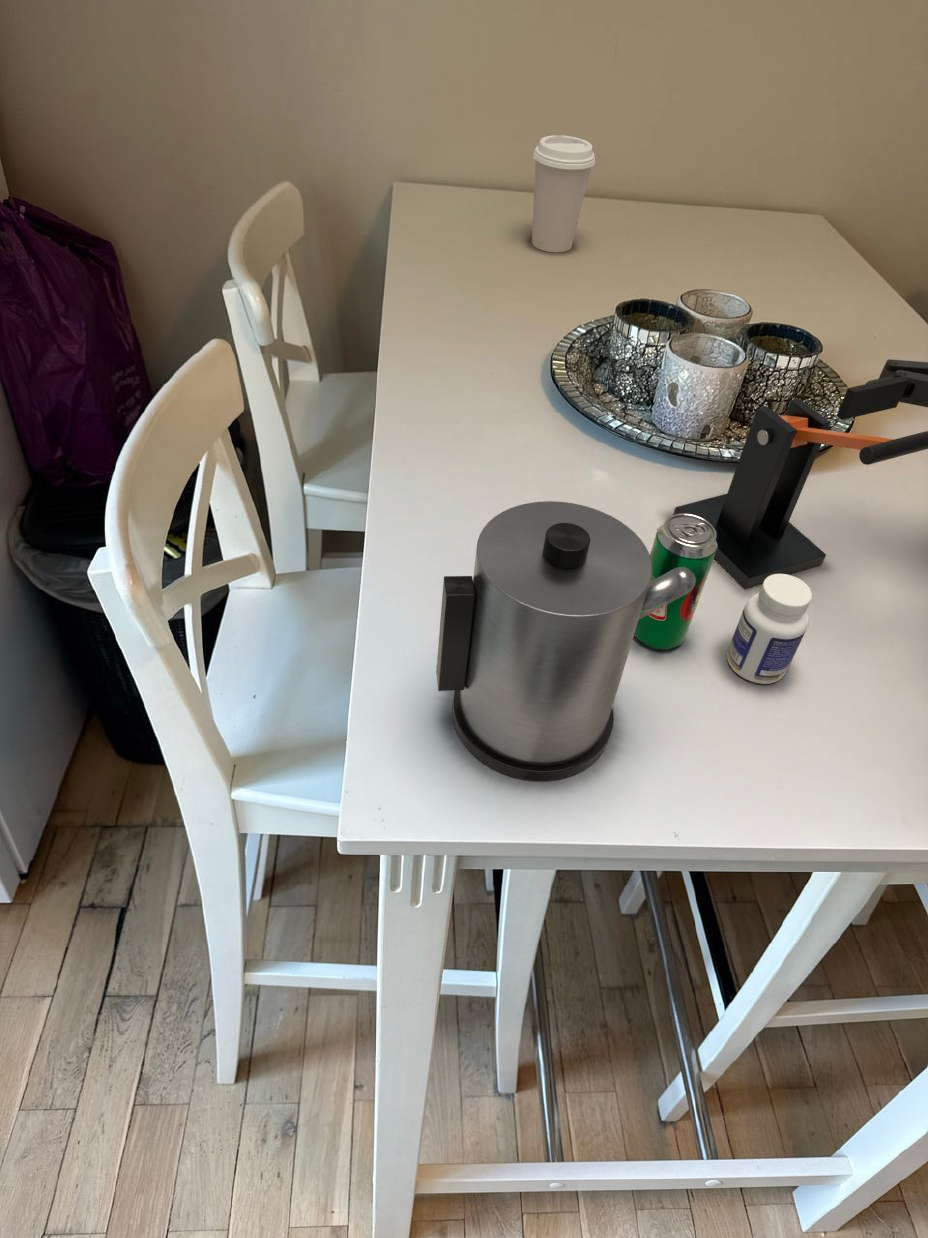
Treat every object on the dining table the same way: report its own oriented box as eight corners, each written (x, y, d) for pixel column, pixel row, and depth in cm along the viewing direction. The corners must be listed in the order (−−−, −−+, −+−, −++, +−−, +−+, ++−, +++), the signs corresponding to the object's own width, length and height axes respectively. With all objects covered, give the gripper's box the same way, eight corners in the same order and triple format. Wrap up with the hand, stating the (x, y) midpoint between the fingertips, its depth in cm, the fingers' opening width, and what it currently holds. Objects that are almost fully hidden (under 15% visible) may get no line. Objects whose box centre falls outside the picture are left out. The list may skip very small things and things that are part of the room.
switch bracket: (821, 564, 89) (881, 439, 78) (744, 588, 85) (796, 460, 75) (746, 496, 96) (791, 374, 86) (672, 516, 93) (710, 391, 82)
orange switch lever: (934, 455, 72) (937, 425, 71) (872, 472, 70) (874, 442, 69) (804, 435, 84) (804, 410, 84) (747, 449, 82) (747, 423, 81)
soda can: (619, 618, 81) (648, 514, 72) (668, 609, 82) (702, 506, 74) (643, 657, 77) (677, 553, 69) (694, 647, 79) (733, 544, 70)
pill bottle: (793, 658, 79) (829, 585, 73) (775, 694, 75) (811, 621, 69) (736, 633, 81) (767, 559, 74) (716, 667, 77) (747, 593, 71)
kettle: (630, 654, 78) (683, 478, 65) (669, 775, 68) (741, 600, 55) (428, 659, 75) (440, 478, 62) (441, 786, 66) (459, 605, 53)
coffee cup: (582, 237, 146) (599, 138, 135) (579, 259, 139) (596, 157, 128) (525, 229, 146) (537, 130, 136) (519, 251, 139) (531, 149, 129)
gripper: (1175, 516, 74) (1005, 576, 67) (946, 373, 90) (787, 409, 82) (1237, 439, 69) (1059, 495, 61) (982, 302, 84) (815, 333, 77)
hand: (903, 446), depth 72 cm, fingers open, 13 cm apart
